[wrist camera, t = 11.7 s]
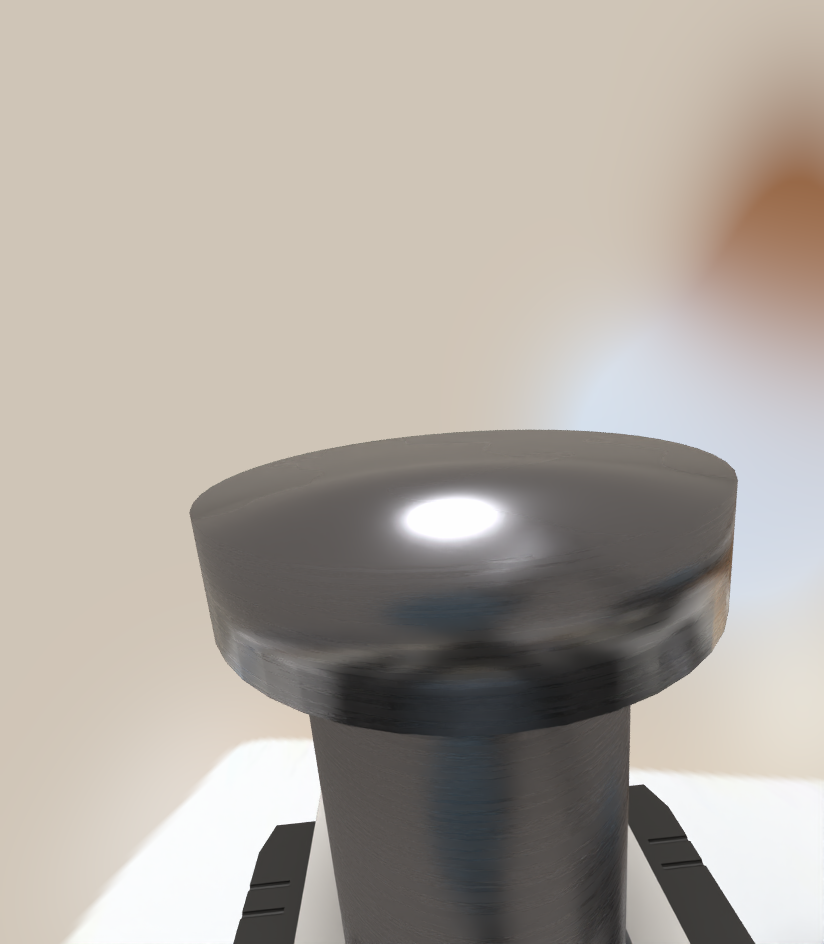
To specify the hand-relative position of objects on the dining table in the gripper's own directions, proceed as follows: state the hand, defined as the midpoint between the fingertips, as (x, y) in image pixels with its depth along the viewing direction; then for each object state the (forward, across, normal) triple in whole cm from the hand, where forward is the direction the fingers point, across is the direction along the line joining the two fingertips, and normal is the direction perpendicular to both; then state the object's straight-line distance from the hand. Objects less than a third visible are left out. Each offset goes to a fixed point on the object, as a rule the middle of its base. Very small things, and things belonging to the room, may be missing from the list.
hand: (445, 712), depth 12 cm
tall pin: (-5, 0, -12) cm, 13 cm away
